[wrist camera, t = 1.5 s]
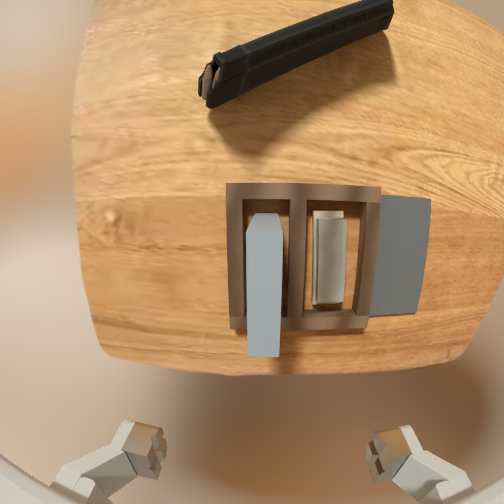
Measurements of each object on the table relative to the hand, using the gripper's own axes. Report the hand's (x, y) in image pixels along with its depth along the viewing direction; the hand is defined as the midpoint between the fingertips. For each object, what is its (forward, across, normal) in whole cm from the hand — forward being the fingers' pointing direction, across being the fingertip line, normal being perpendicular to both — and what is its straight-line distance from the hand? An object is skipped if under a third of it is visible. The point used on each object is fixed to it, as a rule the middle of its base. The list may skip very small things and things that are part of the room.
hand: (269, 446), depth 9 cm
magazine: (+31, -4, -29) cm, 42 cm away
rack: (+31, -5, 0) cm, 31 cm away
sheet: (+31, 0, +1) cm, 31 cm away
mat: (+30, -20, 0) cm, 36 cm away
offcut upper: (+29, -8, 0) cm, 31 cm away
